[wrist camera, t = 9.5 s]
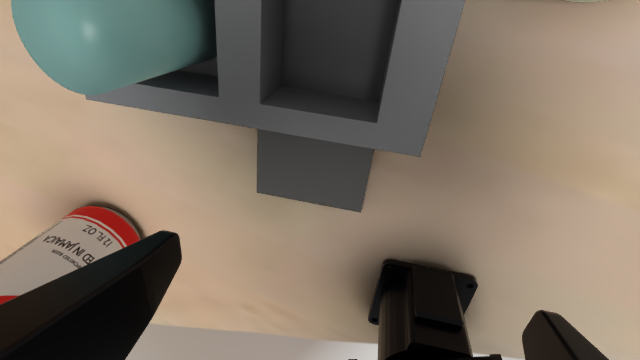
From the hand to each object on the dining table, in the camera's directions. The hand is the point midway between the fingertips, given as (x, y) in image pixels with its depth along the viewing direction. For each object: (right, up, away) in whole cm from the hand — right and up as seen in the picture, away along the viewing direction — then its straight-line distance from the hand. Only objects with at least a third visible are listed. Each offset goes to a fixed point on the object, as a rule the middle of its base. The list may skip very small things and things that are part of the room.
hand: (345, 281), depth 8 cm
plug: (-7, +11, +9) cm, 16 cm away
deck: (-1, +4, +13) cm, 13 cm away
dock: (-3, +11, +9) cm, 15 cm away
